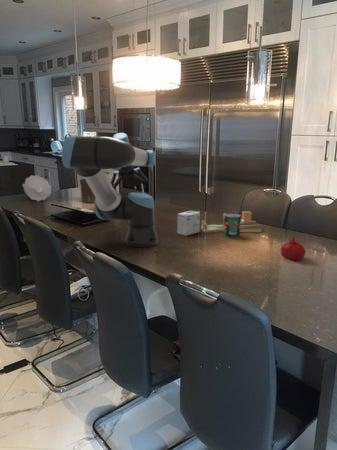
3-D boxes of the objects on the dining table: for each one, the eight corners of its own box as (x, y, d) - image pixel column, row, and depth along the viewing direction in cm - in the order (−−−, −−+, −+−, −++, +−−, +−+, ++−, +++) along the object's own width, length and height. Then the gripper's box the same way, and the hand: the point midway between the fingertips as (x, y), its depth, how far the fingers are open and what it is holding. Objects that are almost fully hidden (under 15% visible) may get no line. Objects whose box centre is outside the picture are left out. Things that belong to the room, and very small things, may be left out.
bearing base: (261, 231, 197) (262, 217, 194) (204, 232, 193) (205, 217, 191) (255, 226, 206) (256, 212, 204) (201, 227, 203) (201, 213, 201)
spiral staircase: (41, 201, 291) (47, 205, 269) (18, 193, 282) (22, 196, 260) (49, 179, 291) (56, 182, 269) (27, 170, 282) (32, 172, 260)
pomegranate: (291, 264, 151) (293, 242, 148) (275, 256, 160) (276, 235, 157) (310, 260, 155) (312, 239, 152) (293, 252, 163) (295, 232, 161)
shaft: (250, 227, 198) (251, 212, 196) (234, 227, 198) (235, 212, 195) (248, 225, 202) (249, 211, 200) (232, 225, 201) (233, 211, 199)
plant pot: (92, 198, 281) (91, 177, 277) (107, 201, 272) (106, 179, 268) (75, 202, 268) (74, 179, 264) (90, 204, 259) (89, 181, 255)
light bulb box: (190, 229, 199) (191, 210, 197) (200, 232, 195) (200, 212, 192) (176, 233, 192) (177, 213, 189) (186, 236, 188) (186, 215, 185)
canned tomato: (221, 235, 190) (222, 214, 187) (234, 233, 193) (235, 212, 190) (229, 239, 183) (230, 217, 180) (242, 237, 186) (244, 216, 183)
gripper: (148, 154, 191) (152, 186, 206) (100, 161, 190) (108, 193, 204) (150, 162, 186) (154, 195, 201) (100, 170, 184) (108, 202, 199)
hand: (131, 194), depth 203 cm, fingers open, 13 cm apart
